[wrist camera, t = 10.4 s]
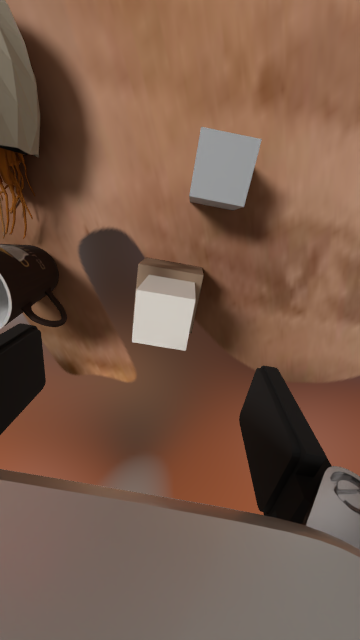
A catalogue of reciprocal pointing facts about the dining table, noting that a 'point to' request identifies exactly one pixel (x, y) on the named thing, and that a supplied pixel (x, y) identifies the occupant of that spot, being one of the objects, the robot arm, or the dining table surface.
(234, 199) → the grey block
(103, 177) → the dining table surface
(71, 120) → the dining table surface
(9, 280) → the coffee mug
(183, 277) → the metal block
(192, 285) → the ceramic block
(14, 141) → the nautilus
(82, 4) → the dining table surface
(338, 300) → the dining table surface
